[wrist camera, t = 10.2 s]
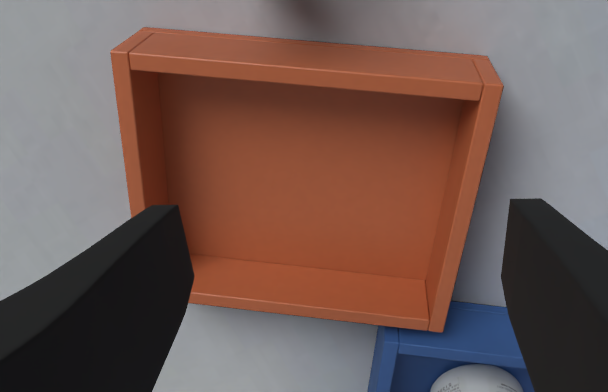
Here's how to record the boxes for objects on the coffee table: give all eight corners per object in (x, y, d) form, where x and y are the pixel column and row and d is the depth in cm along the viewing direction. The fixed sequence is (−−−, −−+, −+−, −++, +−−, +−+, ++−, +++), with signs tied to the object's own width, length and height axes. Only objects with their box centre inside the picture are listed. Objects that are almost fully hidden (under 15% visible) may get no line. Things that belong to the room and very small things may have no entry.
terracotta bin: (487, 55, 19) (504, 85, 17) (436, 284, 25) (443, 333, 22) (143, 26, 20) (109, 50, 18) (164, 254, 25) (140, 298, 23)
